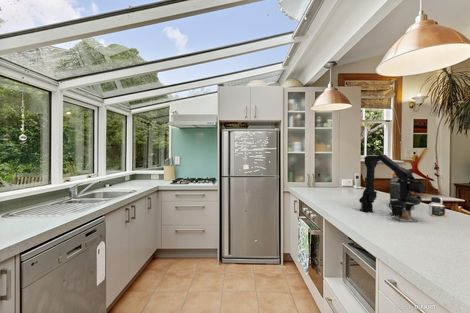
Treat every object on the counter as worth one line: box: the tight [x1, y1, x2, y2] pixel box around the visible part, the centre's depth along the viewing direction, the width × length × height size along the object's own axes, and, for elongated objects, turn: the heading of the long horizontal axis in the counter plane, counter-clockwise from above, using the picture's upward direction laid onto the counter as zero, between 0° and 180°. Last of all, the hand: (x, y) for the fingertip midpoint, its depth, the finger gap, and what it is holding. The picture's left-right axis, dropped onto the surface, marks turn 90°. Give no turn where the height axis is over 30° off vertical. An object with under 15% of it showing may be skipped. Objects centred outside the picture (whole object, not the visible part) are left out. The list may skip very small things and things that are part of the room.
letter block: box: [397, 210, 412, 220], centre depth 165 cm, size 5×5×5 cm
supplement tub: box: [389, 172, 416, 210], centre depth 200 cm, size 16×16×26 cm
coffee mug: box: [388, 199, 405, 217], centre depth 178 cm, size 12×9×10 cm
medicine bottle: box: [428, 196, 446, 218], centre depth 177 cm, size 7×7×12 cm
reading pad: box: [391, 216, 419, 223], centre depth 165 cm, size 10×10×1 cm
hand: (404, 216), depth 165 cm, fingers open, 9 cm apart
